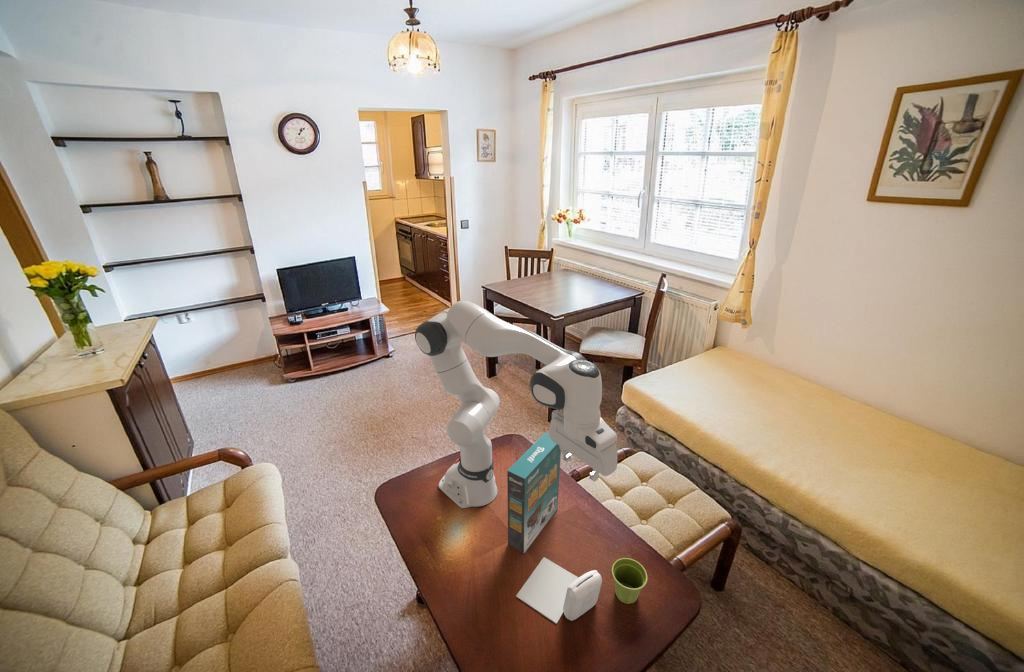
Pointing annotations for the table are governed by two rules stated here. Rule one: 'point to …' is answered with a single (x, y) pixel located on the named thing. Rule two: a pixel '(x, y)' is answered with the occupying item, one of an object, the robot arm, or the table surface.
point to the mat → (547, 589)
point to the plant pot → (628, 579)
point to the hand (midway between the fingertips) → (579, 469)
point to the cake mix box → (532, 492)
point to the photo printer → (582, 595)
